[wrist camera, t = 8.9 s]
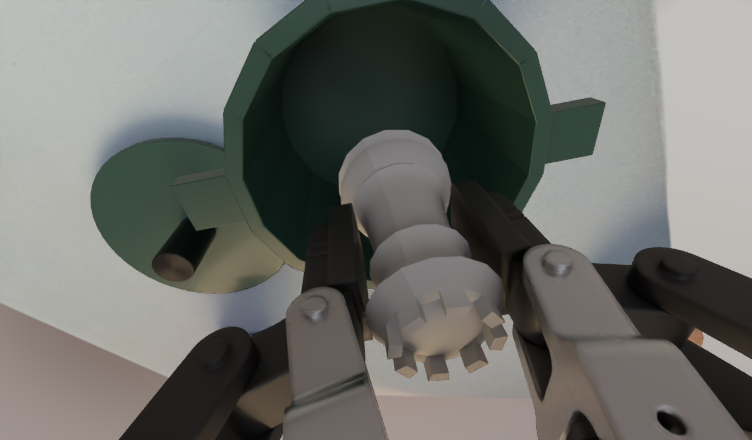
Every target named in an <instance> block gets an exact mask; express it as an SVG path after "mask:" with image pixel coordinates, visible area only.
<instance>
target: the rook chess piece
mask: <svg viewBox="0 0 752 440" xmlns="http://www.w3.org/2000/svg"><path fill="white" fill-rule="evenodd" d="M339 194H340V196H341V205H342V204H347V203H352V205H353V209H354V213H355V217H356V222H357V226H358V230H359V231H361V232H362V233H363V234H364V235H365V236H367V237H368V238H369V241H370V243H371V246H372V249H373V252H374V255H373V257H372V259H371V260H370V278H371V280H372V281H373V283H374V285H375V287H376V290H375V291H374V293H373V295H372V296H371V298H370V300H369V301H368V303H367V305H366V325H367V326H368V328H369V329H370V331H371V333H372V334H373V336H374V337H375V339H376V340H378V341H379V342H380V343H381V344H383V345H384V346H385V347H386V352H387V359H392V358H393V361H394V368H395V371H396V372H398V373H400V374H402V375H404V376H406V377H407V378H411V377H412V376H413V375H414V374H416V373H417V372H418V371H417V367H416V362H415V361H418V362H423V363H424V366H425V370H426V374H427V378H428V381H439V380H449V371H448V368H447V365H446V362H445V360H448V359H451V358H455V357H458V356H461V357H462V360H463V363H464V366H465V368H466V369H467V370H468V372H469V373H472V372H473V371H475V370H477V369H479V368H481V367H483V366H484V365H486V364H488V361H487V359H486V357H485V355H484V352H483V350H482V348H481V344H482V343H483V342H484V341H486V343H487V345H488V347H489V349H490V350H502V349H503V346H504V344H505V342H506V340H507V337H508V335H507V333H506V331H505V330H504V328H503V326H502V323H505V321H504V319H503V317H502V315H501V314H500V311H501V307H502V304H503V301H504V298H505V295H504V290H503V285H502V279H501V278H500V277H499V276H498V275H497V274H496V273H495V272H494V271H493V270H492V269H491V268H490V267H489V266H488V265H487V264H485V263H481V262H478V261H475V260H472V259H471V257H472V256H471V252H470V248H469V244H468V242H467V241H466V240H465V239H464V238H463V237H462V236H461V235H460V234H459V233H458V232H457V231H456V230H454V229H452V228H451V227H450V225H449V222H448V219H447V215H446V212H447V207H448V205H449V200H450V194H451V180H450V176H449V172H448V168H447V164H446V163H445V162H444V161H443V158H442V154H441V153H440V152H439V151H438V150H437V148H436V147H435V146H434V145H433V144H432V143H431V141H430V140H429V139H428V138H425V137H423V136H421V135H418V134H416V133H414V132H412V131H409V130H384V131H381V132H379V133H376V134H374V135H371V136H369V137H366V138H364V139H362V140H361V141H360V142H359V143H358V144H357V145H356V146H355V147H354V148H353V149H352V150H351V151H350V152H349V153H348V154H347V155H346V158H345V160H344V163H343V165H342V167H341V170H340V172H339Z"/></svg>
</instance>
